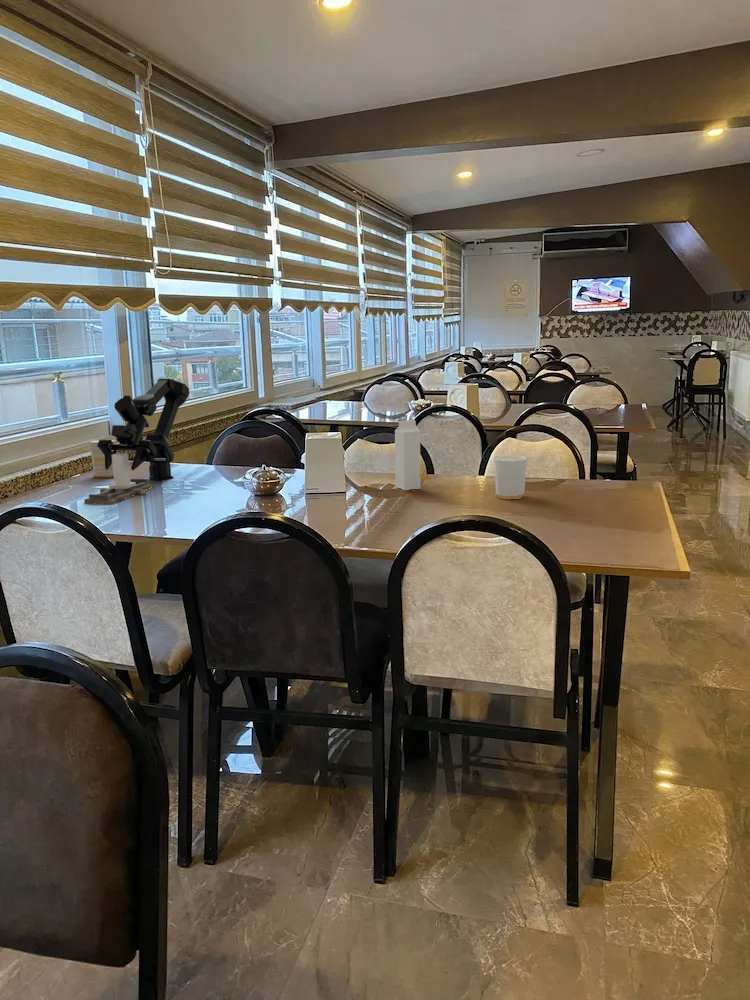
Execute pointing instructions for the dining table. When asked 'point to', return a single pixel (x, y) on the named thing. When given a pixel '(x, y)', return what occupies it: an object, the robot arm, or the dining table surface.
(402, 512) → the dining table surface
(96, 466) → the supplement box
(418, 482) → the milk
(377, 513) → the dining table surface
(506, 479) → the candle holder
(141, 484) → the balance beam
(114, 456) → the white upright block
